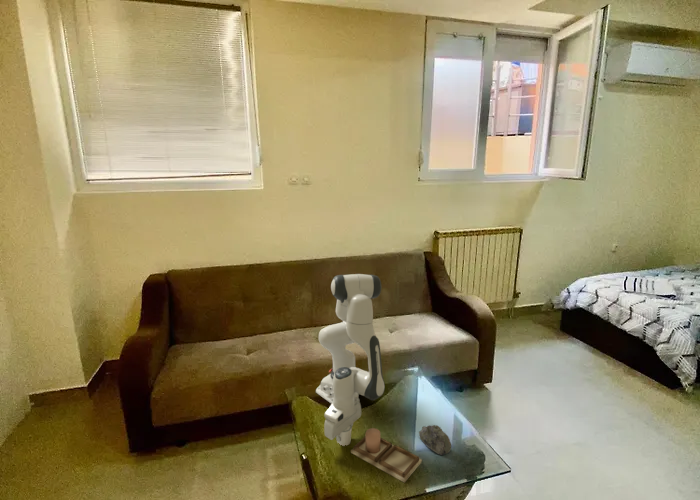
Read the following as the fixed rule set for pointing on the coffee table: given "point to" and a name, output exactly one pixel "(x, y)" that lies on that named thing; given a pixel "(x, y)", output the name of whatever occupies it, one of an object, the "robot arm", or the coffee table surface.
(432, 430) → the mineral rock
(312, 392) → the coffee table surface
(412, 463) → the divided wooden tray
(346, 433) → the white cylinder
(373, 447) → the tan rounded cylinder
